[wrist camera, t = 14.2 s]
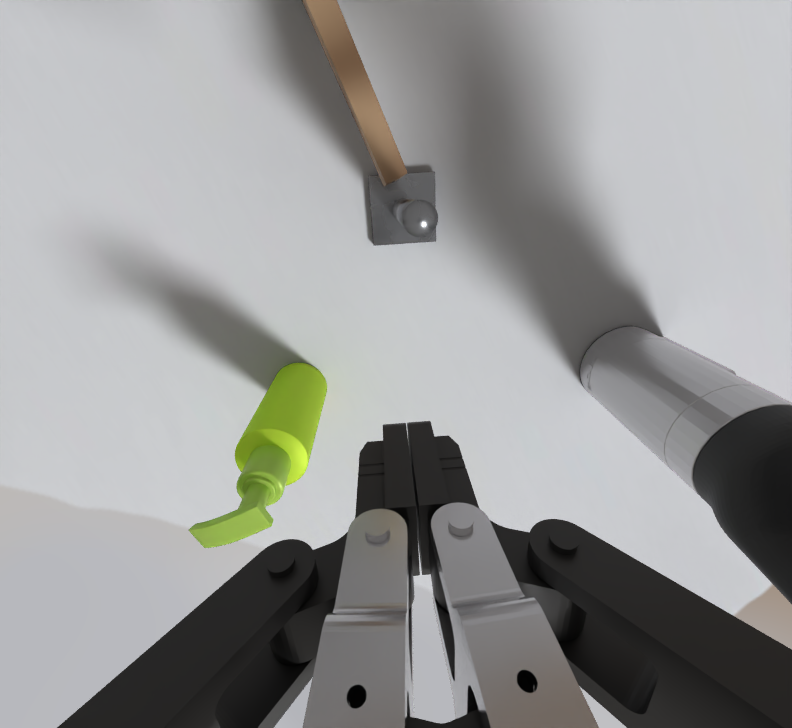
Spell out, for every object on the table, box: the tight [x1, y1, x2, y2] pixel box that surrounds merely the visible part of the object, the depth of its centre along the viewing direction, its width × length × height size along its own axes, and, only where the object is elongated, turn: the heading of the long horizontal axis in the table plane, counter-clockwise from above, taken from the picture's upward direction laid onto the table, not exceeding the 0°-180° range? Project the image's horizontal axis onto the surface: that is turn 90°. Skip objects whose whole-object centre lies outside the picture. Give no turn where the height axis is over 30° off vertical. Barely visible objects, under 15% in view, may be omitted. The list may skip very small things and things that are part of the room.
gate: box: [302, 0, 407, 186], centre depth 25 cm, size 17×3×12 cm, turn 25°
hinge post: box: [368, 172, 438, 245], centre depth 29 cm, size 6×6×16 cm
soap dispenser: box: [189, 363, 327, 548], centre depth 34 cm, size 6×7×20 cm
